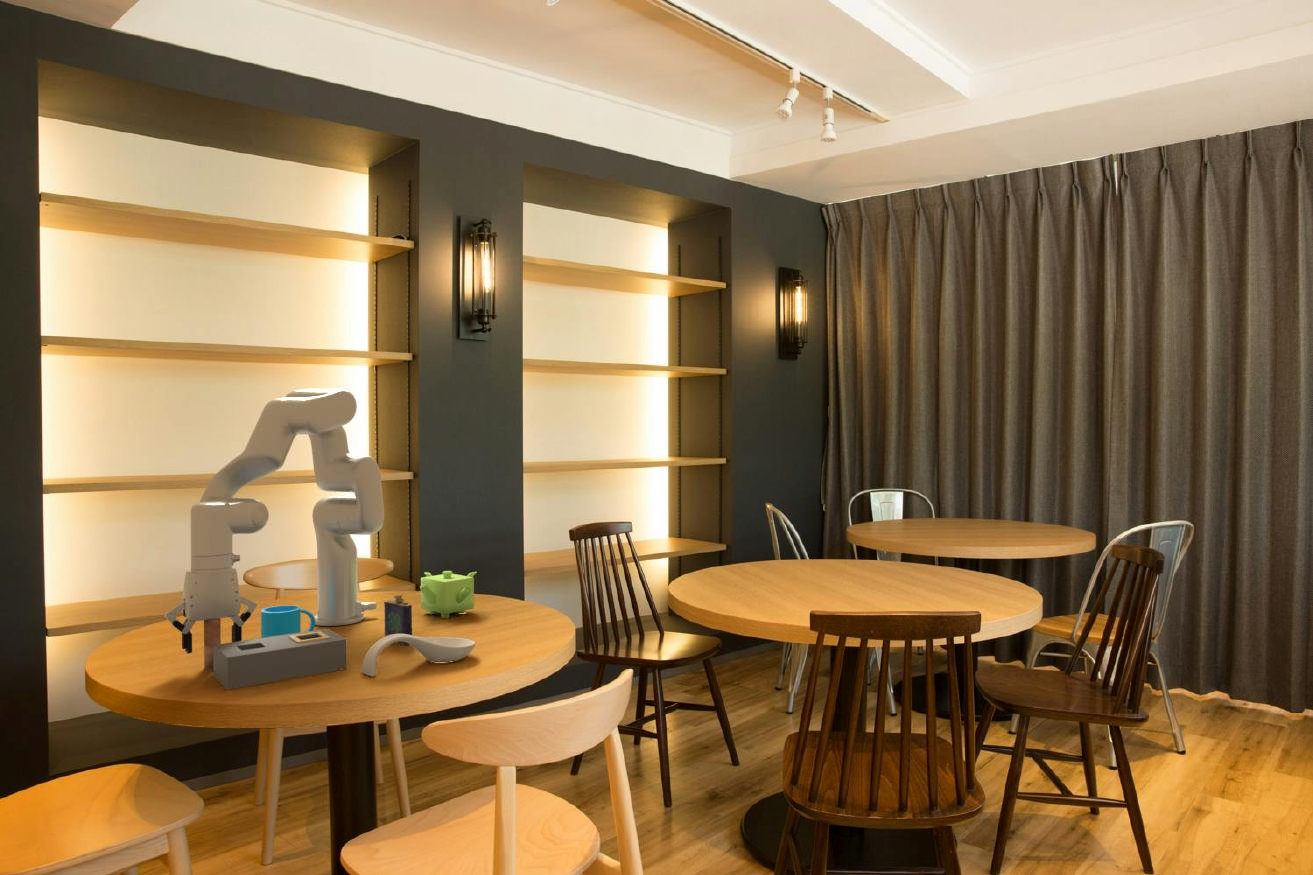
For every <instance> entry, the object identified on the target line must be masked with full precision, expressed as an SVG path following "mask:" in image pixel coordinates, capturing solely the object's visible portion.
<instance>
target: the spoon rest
mask: <svg viewBox="0 0 1313 875" xmlns="http://www.w3.org/2000/svg"><path fill="white" fill-rule="evenodd" d="M399 641H402V642H406V643H408V644H410V645H409V646H411V647H413V648H414V649H415V650H416V651H418V652H419V653H420V654H421V655H422V656H423V657H424V658H425V659H426V660H428V661H429V662H430V661H433V662H450V661H456V660H458V661H460V660H462V659H464V658H465V657H467V656H468V655H470V653H471V652H472V651H473V650H474V648H475V647H476V642H475V641H474V640H471V639H468V638H462V637H453V636H449V637H447V636H443V637H442V636H439V637H437V636H434V637H433V636H432V637H431V636H429V637H424V636H423V637H422V636H416V635H413V634H412V635H408V634H391V635H388V636H386V637H384V636H383V637H382V638H380V639H378V640H377V641H376V642H375V643H374V644H373V645H371V647H370V648H369V649H367V652H366V654H365V656H364V658H363V661H362V665H361V672H362V674H364V675H366V676H369V677H370V678H371V677H373V676H374V677H375V676H376V670H377V669H376V667H377V661H378V658H379V656H380V654H381V653H382V651H383V650H385V649H386V648H387V647H388V646H390V645H392V644H395V643H394V642H399ZM459 659H460V660H459ZM456 662H457V661H456Z"/></svg>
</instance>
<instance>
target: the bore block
mask: <svg viewBox="0 0 1313 875" xmlns="http://www.w3.org/2000/svg"><path fill="white" fill-rule="evenodd" d="M347 667H348V666H347V639H346V637H342V636H341V635H340V634H338V633H336V632H334V631H332V630H330V629H329V628H323V629H316V630H315V629H313V631H308V630H307V631H301V632H300V633H293V634H286V635H279V636H272V637H265V638H261V637H259V638H254V639H253V638H252V639H244V640H241V641H238V642H232V641H231V642H225V643H221V644H217V645H213V670H212V671H213V676H214V678H216V680H217V681H218V682H219V683H221V685H222V686H224V687H225V689H226V690H227V689H229V690H234V689H239V688H246V687H251V686H256V685H261V684H262V685H263V684H268V683H273V682H279V681H284V680H285V681H286V680H290V679H291V680H292V679H296V678H303V677H308V676H314V675H318V674H324V673H325V674H327V673H329V672H330V673H331V671H332V672H336V670H337V671H342V670H341V669H343V670H347V669H346V668H347Z"/></svg>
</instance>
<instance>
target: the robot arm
mask: <svg viewBox="0 0 1313 875" xmlns="http://www.w3.org/2000/svg"><path fill="white" fill-rule="evenodd" d="M357 404H358V403H357V401H356V398H355V396H354V395H353V394H352V392H350V391H349V390H346V389H343V388H305V389H304V388H303V389H295V390H291V391H290V392H289V393H287V394H286V395H285V397H278V398H273V399H272V400H269V401H268V402H267V403H266V404H265V406H264V408H263V409H262V412H261V413H260V416H259V418H258V420H257V422H256V424H255V426H254V428H253V431H252V433H251V435H250V437H249V439H248V442H247V444H246V446H245V448H244V450H243V451H242V452H241V453H240V454H239V455H237V456H236V457H235V458H233V459H232V460H231V461H228V463H227V464H225V465H224V466H223V467H222V468H221V469H220V470H219V471H217V472H216V474H215V475H213V477H212V478H211V479H210V481H209V482H208V483H207V485H206V487H205V489H204V491H203V494H202V496H201V497H200V500H199V502H197V503H195V504H194V505H192V507H191V508H190V569H189V570H186V573H185V576H184V582H183V587H182V588H183V589H182V590H183V592H182V601H181V602H179V603H178V604H176V606H174V607H173V608H171V609H170V610H168V611H167V612H165V614H164V616H165V618H166V619H167V620H168V622H170V624H171V625H172V627H174V628H175V629H177V630H178V631H179V632H181V647H182V650H185V652H186V654H192V652H193V634H192V632H191V629H192V628H193V626H194V624H195V623H196V622H202V621H203V622H204V620H211V619H219V618H220V619H226V618H230V619H231V621H232V622H233V624H232V625H231V642H238V641H243V639H242V638H243V637H242V636H243V633H242V628H243V626H244V624H245V623H246V622H247V621H248V620H249V619H250V618H251V616H252V614H253V613H254V611H255V610H256V609H257V607H258V604H257V603H256V602H254V601H253V600H250V599H248V598H246V597H245V596H243V595H241V592H240V583H239V577H238V572H237V568H236V567H235V566H234V564H235V563H237V562H241V555H240V554H234V553H233V535H252V534H255V533H258V532H259V531H261V530H262V529H263V528H265V526H266V525H267V523H268V521H269V517H270V516H269V509H268V508H267V506H266V505H265V503H263V502H262V501H261V500H258V499H254V498H247V497H246V498H242V497H241V498H240V497H234V496H235V495H236V494H237V493H238V492H239V491H240V490H241V489H242V488H244V487H245V486H246V485H249V483H252V482H253V481H257V480H258V479H261V478H265V477H266V476H268V475H270V474H272V473H275V472H277V471H279V470H280V469H282V467H283V466H284V464H285V461H286V459H287V456H288V454H289V452H290V450H291V447H292V444H293V442H294V441H295V438H296V436H298V435H308V438H309V440H310V446H311V455H312V464H313V472H314V480H315V483H316V486H317V487H318V489H320V490H321V491H325V492H332V493H354V496H350V495H346V496H345V495H342V496H341V495H332V496H325V497H323V498H321V499H320V500H318V501H317V502H316V503H315V504H314V506H313V509H312V524H313V527H314V532H315V533H314V534H315V539H316V561H317V562H316V565H317V566H316V572H317V573H316V575H317V576H316V578H317V579H316V580H317V581H316V584H317V587H316V588H317V590H316V592H317V596H316V598H317V601H316V602H317V608H316V609H317V612H316V613H317V614H315V615H313V616H314V617H315V621H316V623H315V626H320V627H322V626H323V627H334V626H335V627H336V626H338V627H339V626H346V625H351V624H357V623H359V622H362V621H363V620H364V619H365V614H364V612H365V611H374V610H376V609H377V608H378V607H377V603H376V602H377V601H373V602H368V601H367V602H361V601H360V600H358V549H357V545H356V544H355V541H354V539H353V538H352V536H351V535H361V536H362V535H364V536H367V535H368V536H369V535H374V534H376V533H378V532H379V531H380V530H381V529H382V527H383V525H384V522H385V521H384V520H385V508H384V507H385V506H384V497H383V496H384V495H383V485H382V475H381V470H380V466H379V465H378V463H377V462H378V461H376V460H375V458H374V457H372V456H370V455H368V454H362V453H361V454H355V453H353V454H352V453H350V450H349V444H348V437H347V436H348V435H347V434H346V430H345V428H344V425H348V424H349V423H350V422H351V421H352V420H353V419H354V418H355V415H356V413H357V409H358V408H357V407H358V405H357ZM241 605H244V606H246V609H245V610H244V611H243V612H242V613H241V614H240V612H241ZM181 612H182V616H183V617H185V619H184V620H183V622H181V621H179V620H178V618H177V617H176V616H177V615H178V614H180V613H181ZM239 614H240V615H239Z"/></svg>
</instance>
